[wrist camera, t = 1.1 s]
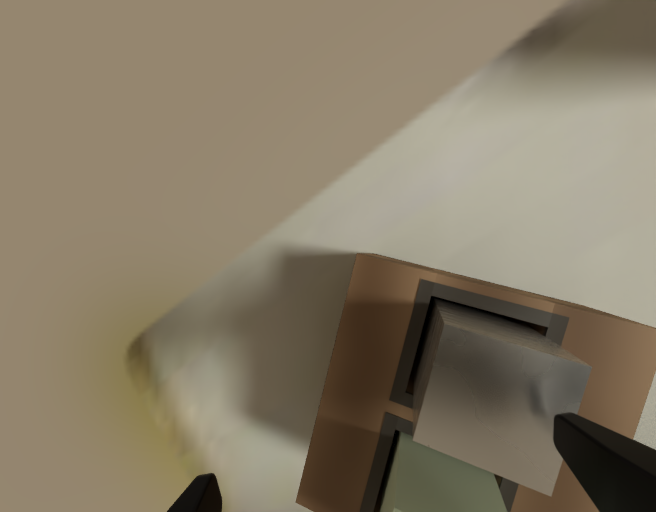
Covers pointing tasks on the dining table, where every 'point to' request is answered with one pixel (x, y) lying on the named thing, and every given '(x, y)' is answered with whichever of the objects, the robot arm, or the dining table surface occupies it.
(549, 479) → the steel peg
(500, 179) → the dining table surface
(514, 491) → the walnut block
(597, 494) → the robot arm
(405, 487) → the sage peg
